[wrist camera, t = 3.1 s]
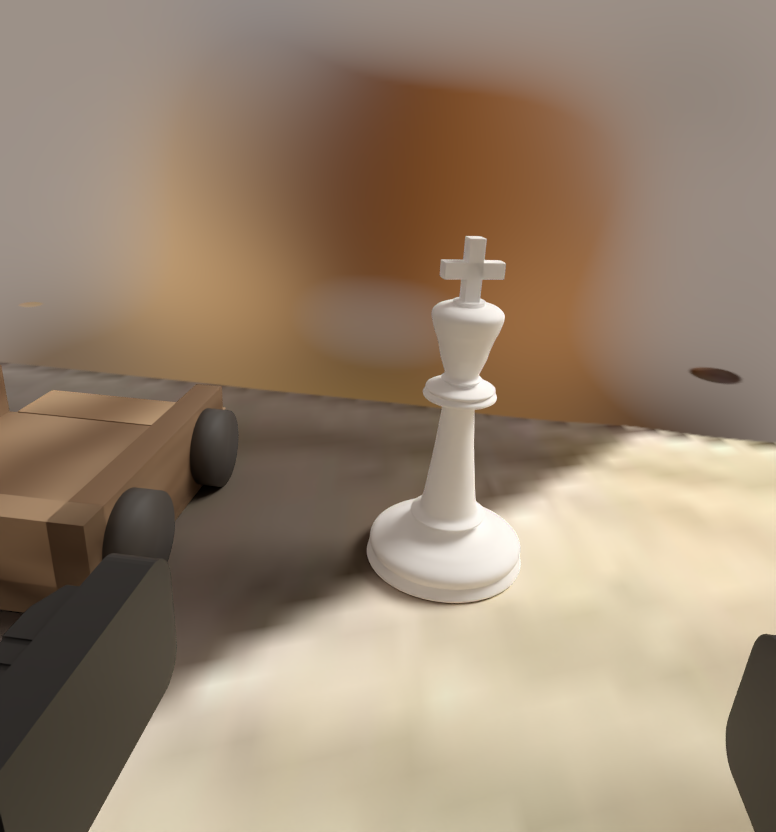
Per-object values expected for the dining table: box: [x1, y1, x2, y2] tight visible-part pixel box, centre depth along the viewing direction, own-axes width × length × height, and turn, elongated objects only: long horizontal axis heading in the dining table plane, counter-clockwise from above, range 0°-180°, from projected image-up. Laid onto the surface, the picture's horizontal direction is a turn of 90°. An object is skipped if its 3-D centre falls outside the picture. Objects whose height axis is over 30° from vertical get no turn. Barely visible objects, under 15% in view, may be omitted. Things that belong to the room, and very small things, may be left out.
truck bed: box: [0, 365, 238, 612], centre depth 24 cm, size 12×13×3 cm
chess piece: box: [367, 236, 521, 603], centre depth 20 cm, size 5×5×10 cm
